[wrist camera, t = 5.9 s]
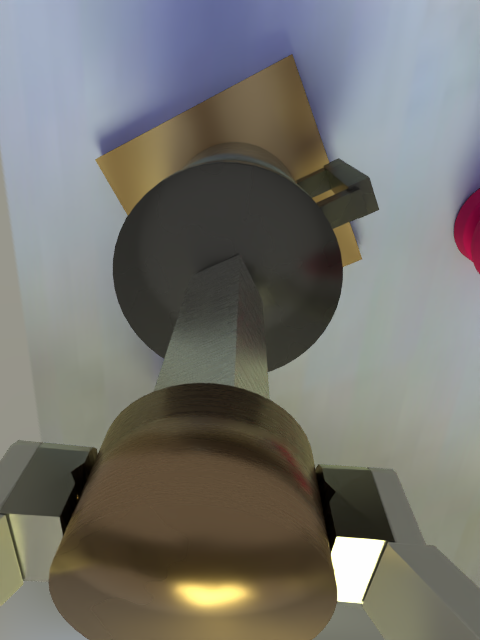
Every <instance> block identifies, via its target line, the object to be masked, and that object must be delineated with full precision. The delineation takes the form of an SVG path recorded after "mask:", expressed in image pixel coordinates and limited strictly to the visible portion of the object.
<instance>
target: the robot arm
mask: <svg viewBox="0 0 480 640" xmlns="http://www.w3.org/2000/svg"><path fill="white" fill-rule="evenodd" d="M96 457H97V449H96V448H94V447H85V446H76V445H66V444H56V443H46V442H44V443H42V442H31V441H21V440H18V441H17V442H15V443H14V444H12V445H11V446H10V448H9V449H8V450H7V452H6V453H5V455H4V456H3V458H2V459H1V460H0V607H1V606H2V605H3V604H4V602H6V601H7V600H8V599H9V598H10V597H11V596H12V595H13V594H14V593H15V592H16V591H17V590H18V589H19V588H20V587H21V586H22V585H23V581H44V582H49V581H48V579H49V571H50V567H51V564H52V562H53V559H54V556H55V554H56V552H57V549H58V547H59V545H60V542H61V540H62V538H63V535H64V533H65V531H66V528H67V526H68V523H69V521H70V519H71V516H72V514H73V512H74V509H75V507H76V505H77V502H78V500H79V498H80V495H81V493H82V490H83V488H84V486H85V483H86V481H87V479H88V476H89V474H90V472H91V469H92V467H93V465H94V462H95V460H96ZM316 476H317V481H318V486H319V492H320V497H321V503H322V508H323V513H324V519H325V524H326V530H327V535H328V540H329V546H330V551H331V556H332V562H333V567H334V573H335V578H336V583H337V601H343V602H353V603H363V604H362V607H363V608H364V610H365V611H366V613H367V614H368V616H369V617H370V618H371V620H372V621H373V623H374V624H375V626H376V627H377V629H378V630H379V632H380V633H381V635H382V636H383V637H384V639H385V640H480V588H479V587H478V586H477V585H476V584H474V583H473V582H472V581H471V580H470V579H469V578H468V577H467V576H466V575H465V574H464V573H463V572H462V571H461V570H460V569H459V568H457V567H456V566H455V565H454V564H453V563H452V562H451V561H450V560H449V559H448V558H447V557H446V556H445V555H444V554H443V553H442V552H440V551H439V550H438V549H437V548H436V547H435V546H433V545H426V543H425V541H424V538H423V536H422V533H421V531H420V529H419V526H418V524H417V521H416V519H415V517H414V514H413V512H412V509H411V507H410V504H409V502H408V500H407V497H406V495H405V492H404V490H403V488H402V485H401V483H400V480H399V478H398V475H397V473H396V472H395V471H394V470H393V469H385V468H370V467H368V468H366V467H357V466H342V465H327V464H318V466H317V467H316Z"/></svg>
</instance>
